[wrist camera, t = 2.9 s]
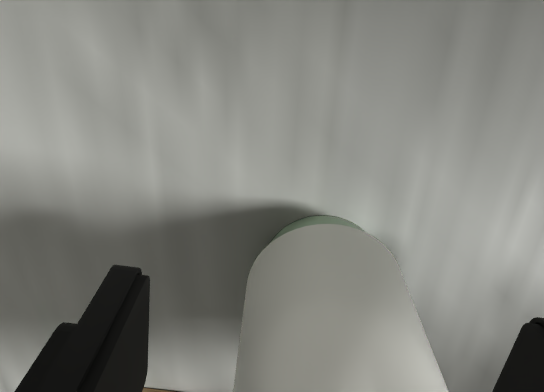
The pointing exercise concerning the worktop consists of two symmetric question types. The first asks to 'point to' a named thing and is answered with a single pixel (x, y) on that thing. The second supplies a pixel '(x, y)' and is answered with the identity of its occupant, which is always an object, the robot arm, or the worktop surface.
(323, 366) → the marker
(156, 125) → the worktop surface
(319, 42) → the worktop surface
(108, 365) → the robot arm
